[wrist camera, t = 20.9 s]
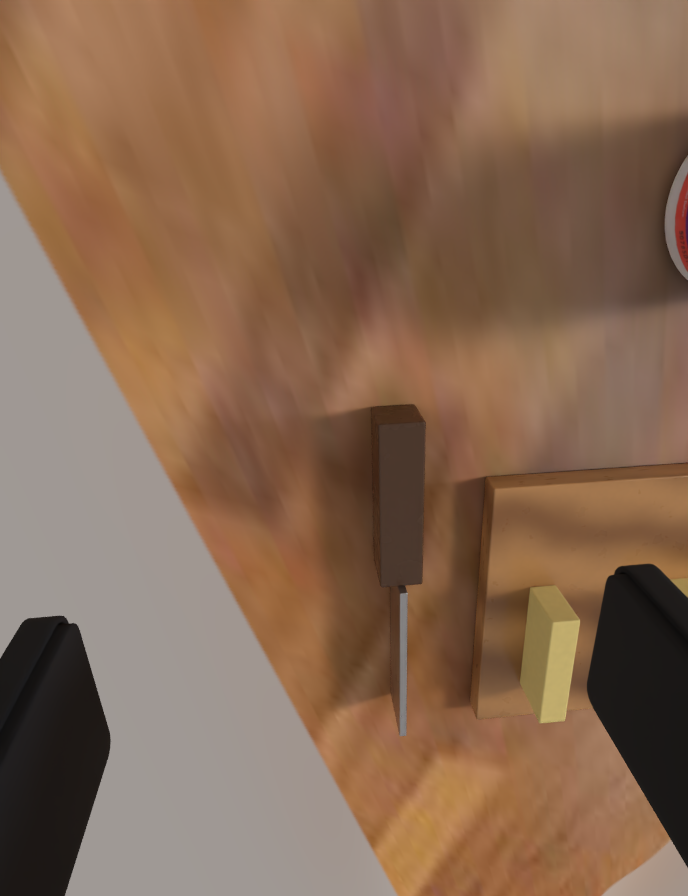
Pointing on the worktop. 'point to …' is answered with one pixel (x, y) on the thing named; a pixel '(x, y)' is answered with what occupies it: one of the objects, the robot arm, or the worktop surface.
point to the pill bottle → (678, 220)
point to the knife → (398, 525)
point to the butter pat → (548, 653)
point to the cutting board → (566, 562)
